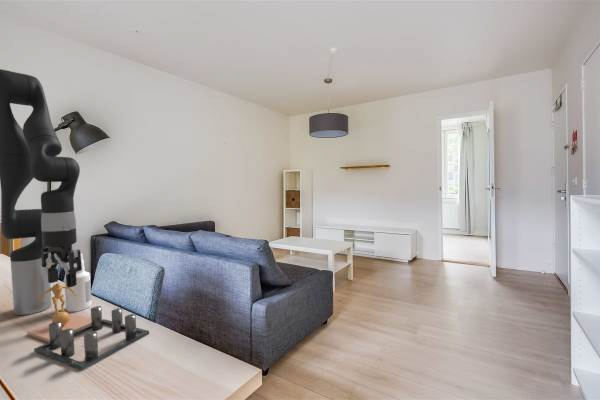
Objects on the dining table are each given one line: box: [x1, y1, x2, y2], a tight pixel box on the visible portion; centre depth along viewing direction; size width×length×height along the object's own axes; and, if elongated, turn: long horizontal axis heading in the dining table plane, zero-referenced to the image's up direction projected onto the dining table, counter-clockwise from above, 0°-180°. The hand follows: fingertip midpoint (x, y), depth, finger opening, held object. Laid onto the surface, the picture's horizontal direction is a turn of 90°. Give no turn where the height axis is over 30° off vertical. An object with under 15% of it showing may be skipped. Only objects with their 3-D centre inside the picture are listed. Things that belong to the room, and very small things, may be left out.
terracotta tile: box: [27, 313, 91, 343], centre depth 84 cm, size 11×12×1 cm
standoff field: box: [33, 305, 150, 371], centre depth 76 cm, size 19×17×6 cm
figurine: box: [39, 282, 76, 326], centre depth 84 cm, size 8×6×12 cm
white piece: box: [64, 253, 92, 313], centre depth 97 cm, size 7×7×18 cm
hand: (62, 284), depth 83 cm, fingers open, 8 cm apart
